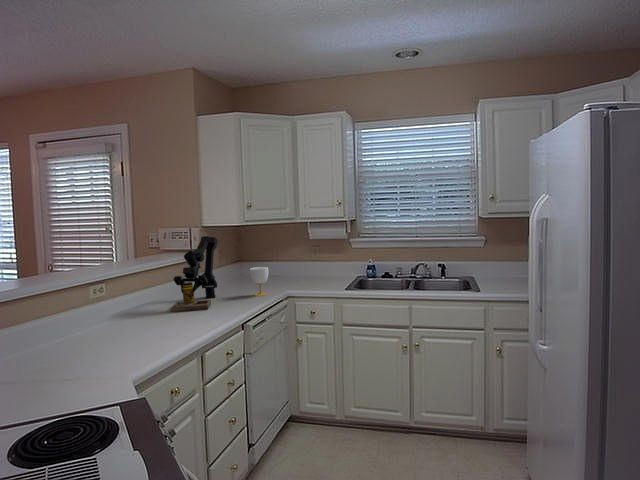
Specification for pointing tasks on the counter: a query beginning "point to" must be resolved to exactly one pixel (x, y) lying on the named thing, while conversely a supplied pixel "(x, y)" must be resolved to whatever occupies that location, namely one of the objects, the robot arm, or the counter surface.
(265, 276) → the cup
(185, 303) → the condiment
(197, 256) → the robot arm
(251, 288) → the counter surface
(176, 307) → the tray
